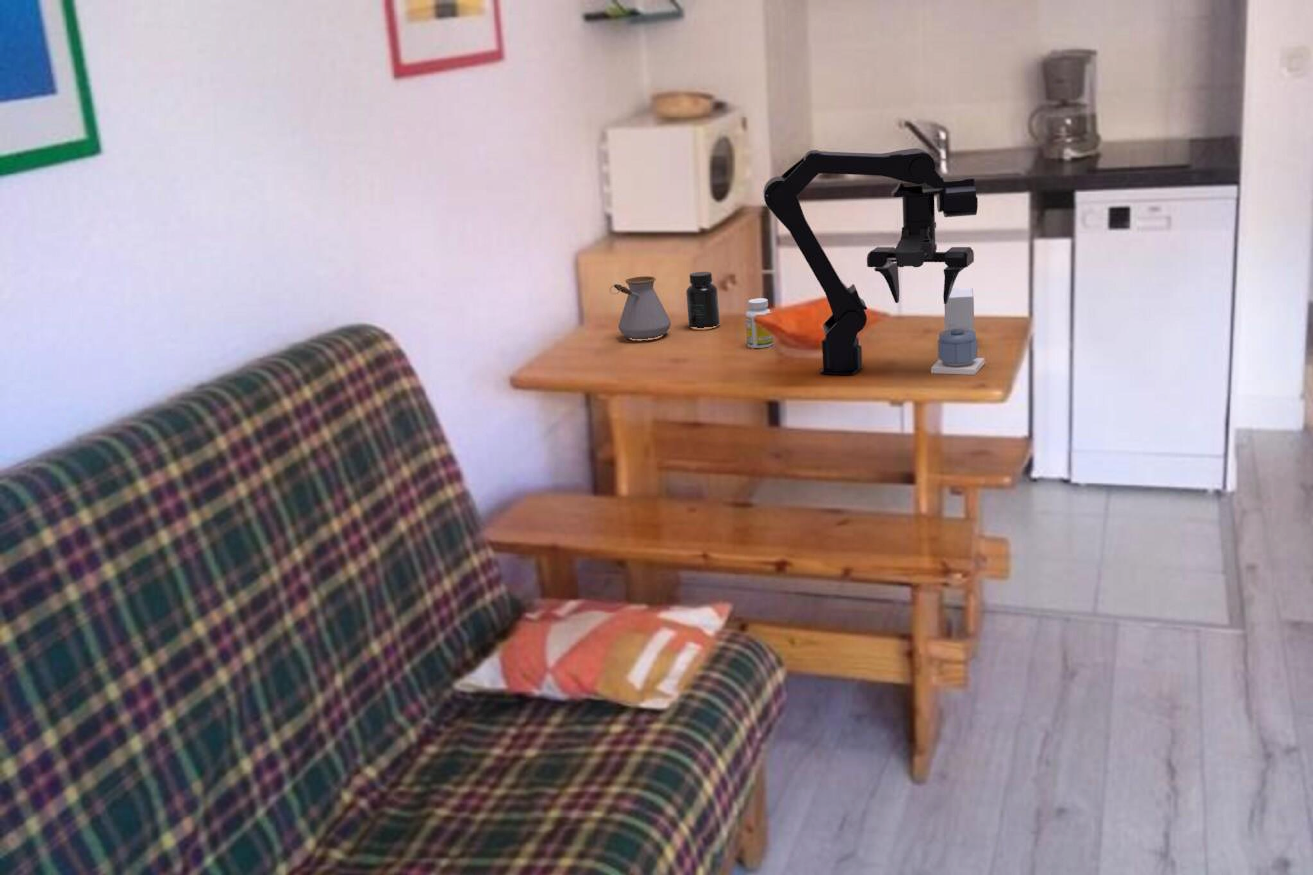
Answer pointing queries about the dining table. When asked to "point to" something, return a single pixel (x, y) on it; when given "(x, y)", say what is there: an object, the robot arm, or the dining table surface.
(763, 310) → the supplement bottle
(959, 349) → the cap
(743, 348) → the dining table surface
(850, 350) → the robot arm
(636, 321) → the coffee pot
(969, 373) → the two-tone square knobbed fixture
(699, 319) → the supplement bottle
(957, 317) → the small box
